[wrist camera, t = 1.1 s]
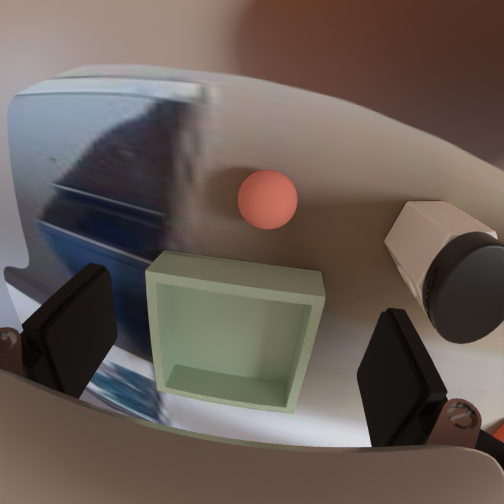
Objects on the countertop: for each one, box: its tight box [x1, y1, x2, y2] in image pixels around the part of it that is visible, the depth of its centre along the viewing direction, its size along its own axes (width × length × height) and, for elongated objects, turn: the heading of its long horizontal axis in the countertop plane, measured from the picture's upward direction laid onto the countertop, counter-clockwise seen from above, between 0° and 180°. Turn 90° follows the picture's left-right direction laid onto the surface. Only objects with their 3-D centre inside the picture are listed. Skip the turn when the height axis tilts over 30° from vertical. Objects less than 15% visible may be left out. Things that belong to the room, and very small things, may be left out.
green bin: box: [145, 250, 326, 414], centre depth 32 cm, size 16×16×5 cm
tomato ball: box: [238, 170, 298, 230], centre depth 26 cm, size 5×5×5 cm
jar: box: [384, 201, 504, 344], centre depth 23 cm, size 9×8×12 cm
